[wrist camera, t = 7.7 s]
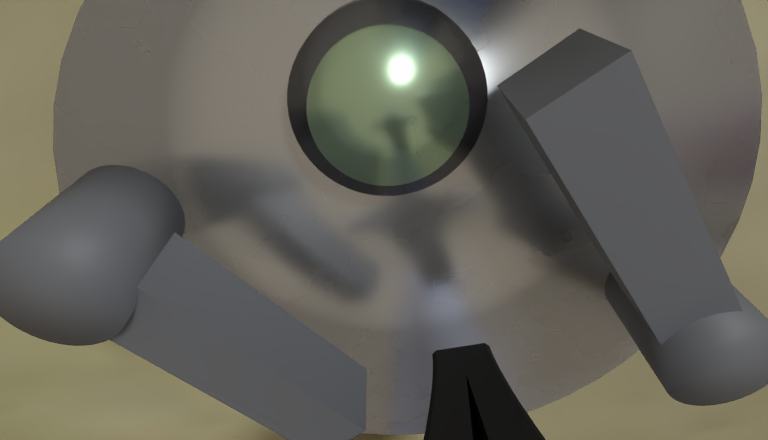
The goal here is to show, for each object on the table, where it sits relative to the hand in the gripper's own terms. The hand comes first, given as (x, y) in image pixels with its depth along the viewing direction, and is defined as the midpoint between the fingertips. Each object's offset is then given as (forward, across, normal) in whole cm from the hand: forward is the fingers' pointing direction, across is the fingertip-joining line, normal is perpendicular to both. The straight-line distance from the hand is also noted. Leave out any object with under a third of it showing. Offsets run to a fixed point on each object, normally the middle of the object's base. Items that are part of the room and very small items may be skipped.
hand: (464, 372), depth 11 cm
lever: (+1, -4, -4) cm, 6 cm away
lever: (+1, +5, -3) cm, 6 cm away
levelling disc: (+3, +1, -3) cm, 4 cm away
